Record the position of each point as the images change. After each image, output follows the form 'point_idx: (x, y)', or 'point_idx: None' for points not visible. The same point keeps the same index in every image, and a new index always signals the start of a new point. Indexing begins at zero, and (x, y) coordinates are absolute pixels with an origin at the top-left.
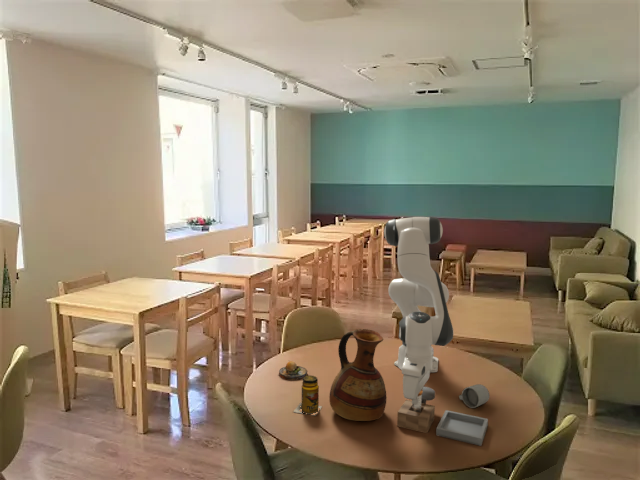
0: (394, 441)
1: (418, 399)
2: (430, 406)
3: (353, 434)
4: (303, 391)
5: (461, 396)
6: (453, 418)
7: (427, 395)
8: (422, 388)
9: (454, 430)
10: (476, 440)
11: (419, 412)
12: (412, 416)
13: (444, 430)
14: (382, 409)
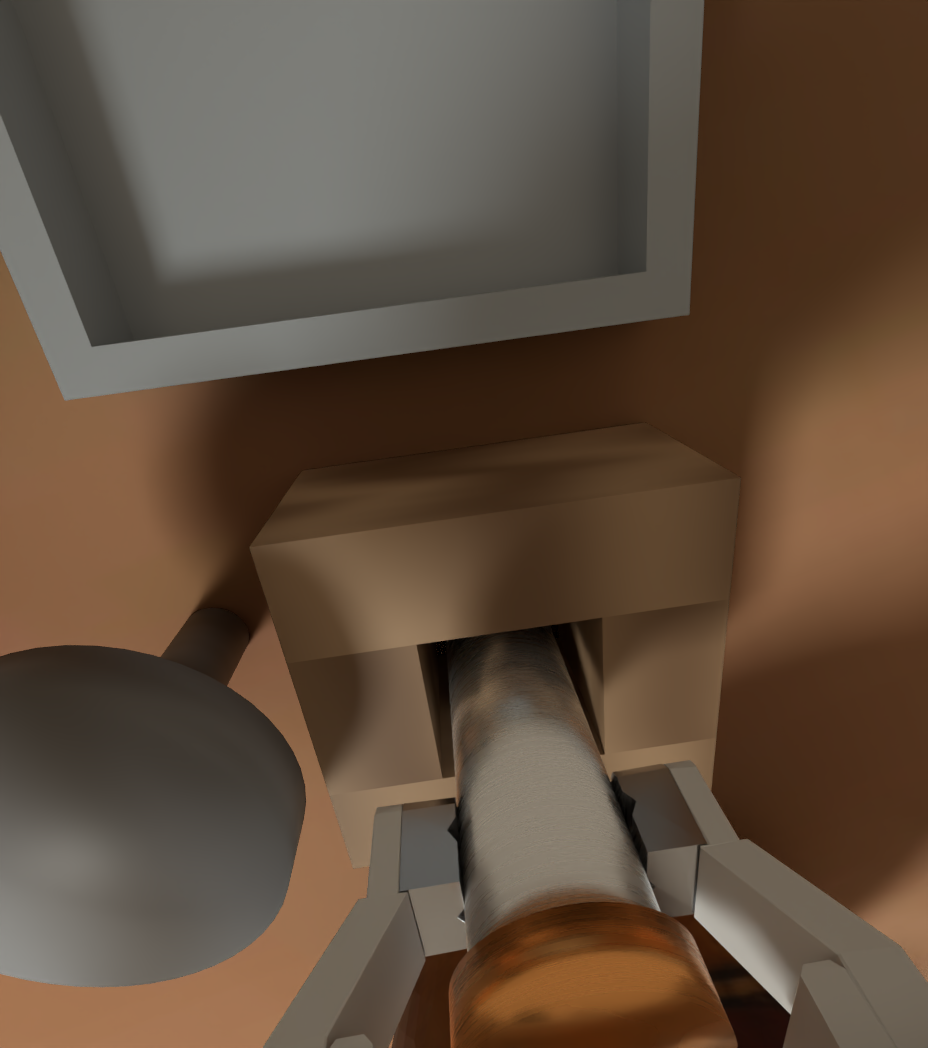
0: (908, 604)
1: (619, 825)
2: (318, 589)
3: (885, 842)
4: None
5: None
6: (117, 247)
7: (181, 767)
8: (335, 1027)
9: (450, 101)
10: None
11: (537, 638)
12: (712, 660)
13: (693, 181)
14: (691, 916)
